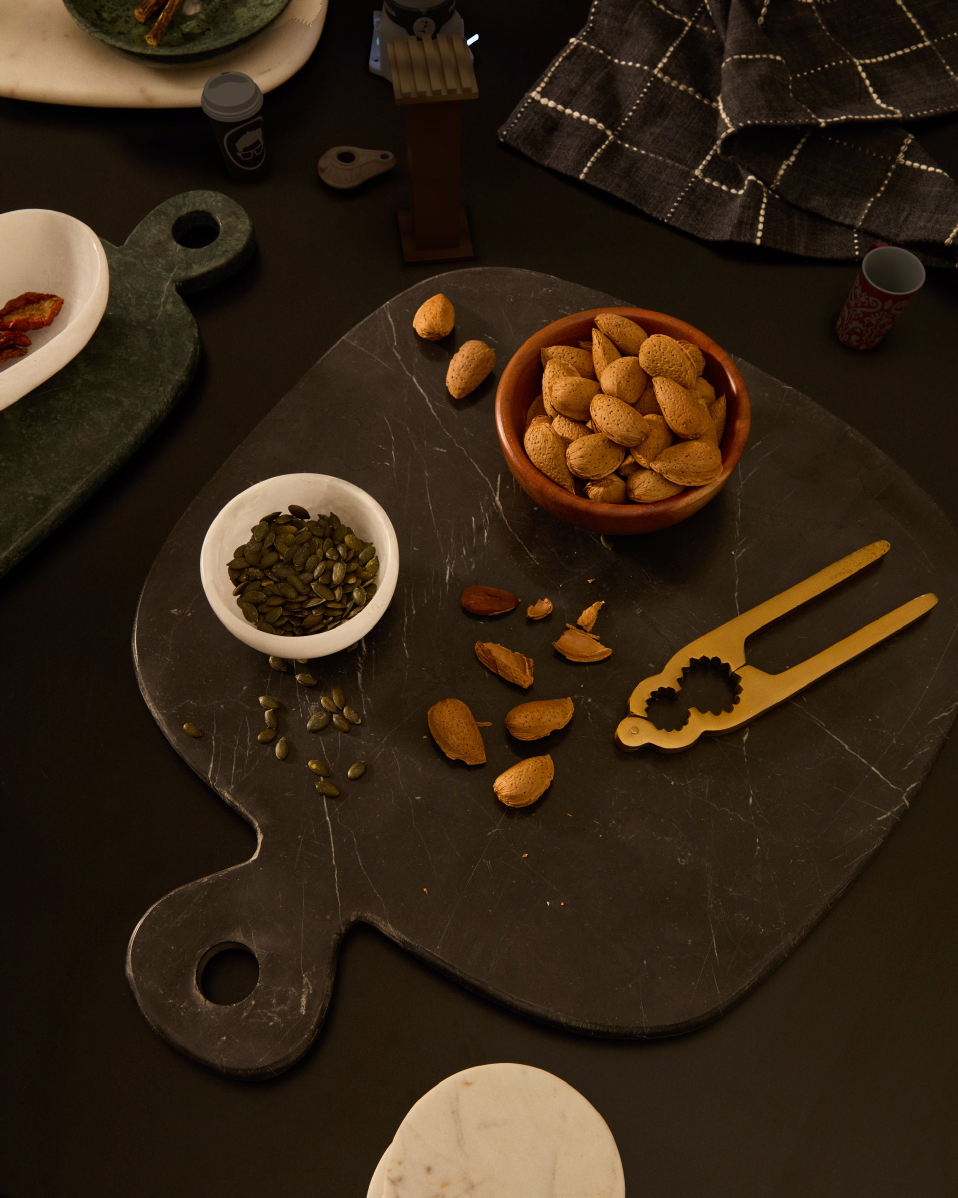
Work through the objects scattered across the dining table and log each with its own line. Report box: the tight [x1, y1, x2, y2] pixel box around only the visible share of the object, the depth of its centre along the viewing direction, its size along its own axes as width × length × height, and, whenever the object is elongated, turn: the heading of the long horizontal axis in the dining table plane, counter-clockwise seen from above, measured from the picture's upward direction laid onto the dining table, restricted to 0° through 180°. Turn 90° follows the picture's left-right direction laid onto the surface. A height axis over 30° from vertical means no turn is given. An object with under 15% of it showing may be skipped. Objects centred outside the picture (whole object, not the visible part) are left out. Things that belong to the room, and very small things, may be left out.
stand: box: [396, 100, 475, 267], centre depth 144 cm, size 11×11×30 cm
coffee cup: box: [200, 70, 269, 184], centre depth 156 cm, size 10×10×15 cm
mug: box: [834, 241, 927, 351], centre depth 146 cm, size 13×9×14 cm
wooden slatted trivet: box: [386, 32, 479, 106], centre depth 130 cm, size 11×11×2 cm
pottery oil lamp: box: [317, 145, 397, 190], centre depth 160 cm, size 9×12×7 cm
